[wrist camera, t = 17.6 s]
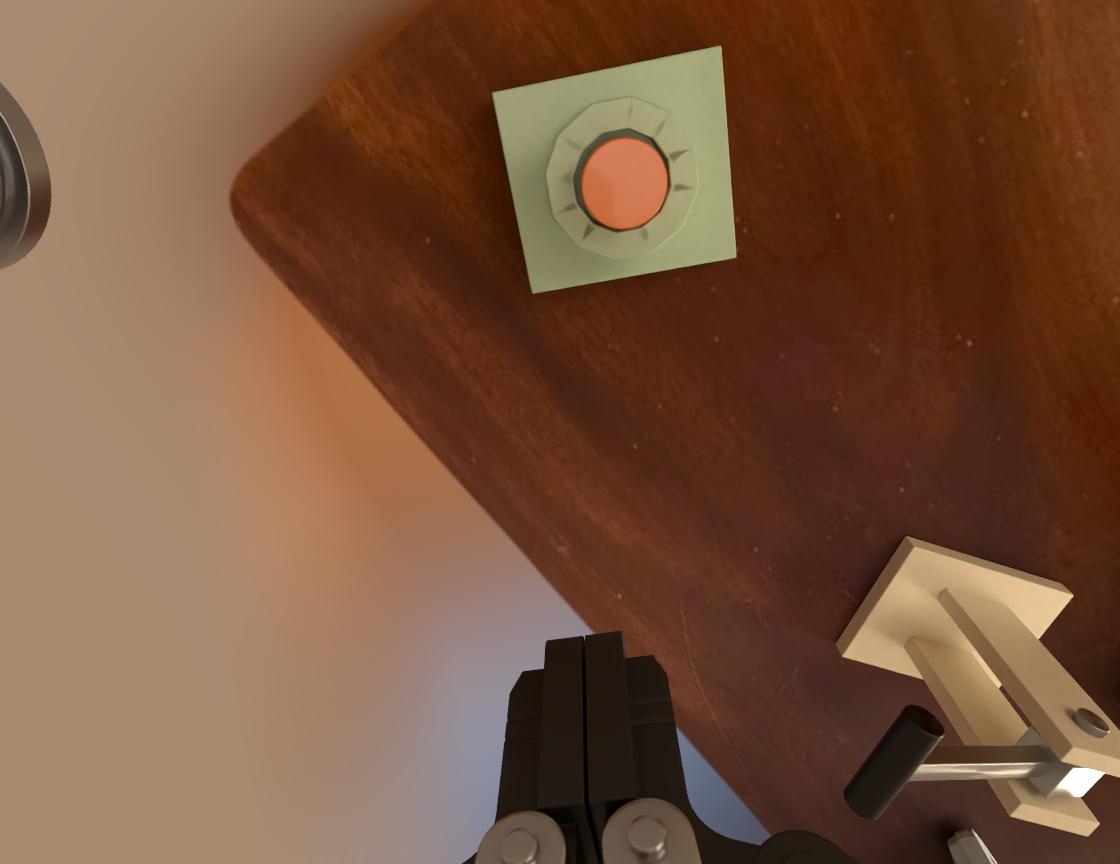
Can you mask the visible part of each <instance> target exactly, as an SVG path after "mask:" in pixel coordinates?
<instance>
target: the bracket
mask: <svg viewBox="0 0 1120 864" xmlns="http://www.w3.org/2000/svg"><path fill="white" fill-rule="evenodd" d="M1073 596H1074V595H1073V594H1072V593H1071V592H1070V591H1069V590H1068V589H1067V588H1066V587H1065V586H1063V585H1062V584H1061V583H1058V582H1055V581H1051V580H1048V579H1045V578H1042V577H1038V576H1035V575H1032V574H1029V573H1025V572H1022V571H1019V570H1016V569H1012V568H1009V567H1006V566H1003V565H999V564H996V563H993V562H990V561H986V560H983V559H980V558H977V557H973V556H970V555H967V554H964V553H960V552H957V551H954V550H951V549H947V548H944V547H941V546H938V545H934V544H931V543H928V542H925V541H921V540H918V539H915V538H912V537H908V536H905V537H904V539H903V541H902V542H901V544H900V545H899V547H898V548H897V550H896V551H895V553H894V554H893V556H892V558H891V559H890V561H889V562H888V564H887V565H886V567H885V568H884V570H883V571H882V573H881V575H880V576H879V578H878V579H877V581H876V582H875V584H874V585H873V587H872V588H871V590H870V592H869V593H868V595H867V596H866V598H865V599H864V601H863V602H862V604H861V605H860V607H859V609H858V610H857V612H856V613H855V615H854V616H853V618H852V619H851V621H850V622H849V624H848V625H847V627H846V629H845V630H844V632H843V633H842V635H841V636H840V638H839V639H838V641H837V642H836V646H837V648H838V650H839V652H840V654H841V656H842V657H845V658H849V659H852V660H856V661H860V662H863V663H867V664H870V665H874V666H877V667H881V668H884V669H888V670H892V671H895V672H899V673H902V674H906V675H909V676H913V677H916V678H920V679H924V681H925V682H926V684H927V685H928V687H929V689H930V690H931V692H932V693H933V695H934V696H935V698H936V700H937V701H938V703H939V704H940V706H941V708H942V709H943V711H944V712H945V714H946V716H947V717H948V719H949V720H950V722H951V724H952V725H953V727H954V728H955V730H956V731H957V733H958V735H959V736H960V738H961V739H962V741H963V743H964V744H965V745H1015V744H1016V742H1017V741H1018V740H1019V739H1020V738H1021V737H1022V735H1023V734H1024V733H1025V732H1026V731H1027V730H1028V727H1027V726H1026V725H1025V723H1024V722H1023V721H1022V719H1021V718H1020V717H1019V715H1018V714H1017V713H1016V711H1015V710H1014V709H1013V707H1012V706H1011V705H1010V703H1009V702H1008V701H1007V699H1006V698H1005V697H1004V695H1003V694H1002V693H1001V691H1000V690H999V687H1000V686H1001V685H1003V687H1004V688H1005V689H1006V690H1007V692H1008V693H1009V694H1010V696H1011V697H1012V698H1013V700H1014V701H1015V702H1016V704H1017V705H1018V706H1019V708H1020V709H1021V710H1022V711H1023V713H1024V714H1025V715H1026V717H1027V718H1028V719H1029V721H1030V722H1031V723H1032V725H1033V726H1034V727H1035V729H1036V730H1037V731H1038V732H1039V734H1040V735H1041V736H1042V738H1043V739H1044V740H1045V742H1046V743H1047V744H1048V746H1049V747H1050V748H1051V750H1052V751H1053V752H1054V753H1055V755H1056V756H1057V757H1058V759H1059V760H1060V761H1062V762H1065V763H1069V764H1073V765H1076V766H1080V767H1084V768H1087V769H1091V770H1095V771H1098V772H1102V773H1106V774H1109V775H1113V776H1117V777H1120V730H1119V729H1118V728H1117V727H1116V726H1115V725H1114V724H1113V723H1112V721H1111V720H1110V719H1109V718H1108V717H1107V716H1106V715H1105V714H1104V713H1103V711H1102V710H1101V709H1100V708H1099V707H1098V706H1097V705H1096V704H1095V702H1094V701H1093V700H1092V699H1091V698H1090V697H1089V696H1088V695H1087V694H1086V692H1085V691H1084V690H1083V689H1082V688H1081V687H1080V686H1079V685H1078V684H1077V682H1076V681H1075V680H1074V679H1073V678H1072V677H1071V676H1070V675H1069V674H1068V672H1067V671H1066V670H1065V669H1064V668H1063V667H1062V666H1061V665H1060V664H1059V662H1058V661H1057V660H1056V659H1055V658H1054V657H1053V656H1052V655H1051V654H1050V652H1049V651H1048V650H1047V649H1046V648H1045V647H1044V646H1043V645H1042V643H1041V642H1040V641H1039V640H1038V639H1039V638H1040V637H1041V635H1042V634H1043V633H1044V632H1045V630H1046V629H1047V628H1048V627H1049V626H1050V624H1051V623H1052V622H1053V621H1054V619H1055V618H1056V617H1057V616H1058V614H1059V613H1060V612H1061V611H1062V609H1063V608H1064V607H1065V606H1066V604H1067V603H1068V602H1069V601H1070V600H1071V598H1072V597H1073ZM987 781H988V782H989V784H990V786H991V787H992V789H993V790H994V792H995V793H996V795H997V797H998V798H999V800H1000V801H1001V803H1002V805H1003V806H1004V808H1005V809H1006V811H1007V813H1008V814H1009V816H1011V817H1015V818H1018V819H1022V820H1026V821H1030V822H1034V823H1038V824H1042V825H1045V826H1049V827H1053V828H1057V829H1061V830H1065V831H1069V832H1072V833H1076V834H1080V835H1084V836H1089V835H1090V834H1091V833H1092V832H1093V831H1094V830H1095V829H1096V828H1097V827H1098V826H1099V825H1100V823H1099V822H1098V821H1097V819H1096V818H1095V817H1094V815H1093V814H1092V813H1091V811H1090V810H1089V809H1088V807H1087V806H1086V805H1085V803H1084V802H1083V801H1082V799H1081V798H1080V797H1056V798H1045V797H1044V796H1043V795H1042V794H1041V793H1040V792H1039V791H1038V790H1037V789H1036V788H1035V786H1034V785H1033V784H1032V783H1031V782H1030V781H1029V780H1028V779H1027V778H1000V779H987Z"/></svg>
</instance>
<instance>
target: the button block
mask: <svg viewBox="0 0 1120 864" xmlns="http://www.w3.org/2000/svg"><path fill="white" fill-rule="evenodd" d="M492 97H493V102H494V107H495V112H496V117H497V122H498V127H499V132H500V137H501V142H502V147H503V152H504V157H505V162H506V167H507V172H508V177H509V182H510V187H511V192H512V197H513V202H514V207H515V212H516V217H517V222H518V227H519V232H520V237H521V242H522V247H523V252H524V257H525V262H526V267H527V272H528V277H529V282H530V287H531V292H532V293H533V294H534V293H539V292H545V291H551V290H556V289H562V288H568V287H573V286H579V285H585V284H590V283H596V282H602V281H607V280H613V279H619V278H624V277H630V276H636V275H641V274H647V273H653V272H658V271H664V270H669V269H675V268H681V267H686V266H692V265H698V264H703V263H709V262H715V261H720V260H726V259H732V258H735V257H736V244H735V230H734V216H733V202H732V188H731V174H730V161H729V147H728V133H727V119H726V105H725V91H724V77H723V63H722V49H721V46H716V47H711V48H706V49H701V50H696V51H692V52H687V53H682V54H677V55H672V56H667V57H662V58H658V59H653V60H648V61H643V62H638V63H633V64H628V65H624V66H619V67H614V68H609V69H604V70H599V71H594V72H590V73H585V74H580V75H575V76H570V77H565V78H560V79H555V80H551V81H546V82H541V83H536V84H531V85H526V86H521V87H517V88H512V89H507V90H502V91H497V92H493V93H492ZM615 137H631V138H636V139H639V140H642V141H644V142H646V143H647V144H649V145H650V146H651V147H653V148H654V149H655V150H656V151H657V153H658V154H659V155H660V157H661V158H662V160H663V162H664V165H665V168H666V172H667V180H668V184H667V191H666V196H665V198H664V201H663V203H662V205H661V207H660V208H659V210H658V211H657V213H656V214H655V215H654V216H653V217H652V218H651V219H650V220H648V221H647V222H645V223H644V224H642V225H640V226H637V227H634V228H630V229H615V228H611V227H608V226H606V225H604V224H602V223H600V222H599V221H598V220H596V219H595V218H594V217H593V216H592V215H591V213H590V212H589V211H588V209H587V207H586V205H585V203H584V200H583V197H582V193H581V173H582V169H583V166H584V163H585V161H586V159H587V158H588V156H589V155H590V153H591V152H592V151H593V150H594V149H595V148H596V147H597V146H598V145H599V144H601V143H603V142H604V141H606V140H609V139H611V138H615Z"/></svg>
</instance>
